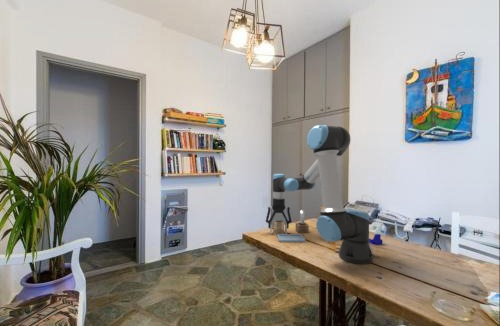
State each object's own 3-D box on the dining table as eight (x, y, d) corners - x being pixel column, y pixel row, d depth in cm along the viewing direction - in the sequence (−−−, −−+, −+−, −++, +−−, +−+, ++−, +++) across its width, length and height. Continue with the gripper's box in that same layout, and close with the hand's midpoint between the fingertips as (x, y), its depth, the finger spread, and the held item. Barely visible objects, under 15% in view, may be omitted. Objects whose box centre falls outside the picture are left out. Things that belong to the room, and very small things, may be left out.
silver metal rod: (304, 232, 156) (305, 210, 156) (300, 232, 156) (300, 210, 156) (303, 231, 159) (303, 209, 159) (299, 230, 159) (299, 209, 159)
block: (283, 235, 149) (284, 222, 149) (274, 235, 149) (274, 222, 149) (282, 232, 155) (282, 220, 155) (273, 232, 155) (273, 220, 155)
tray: (305, 242, 137) (305, 240, 137) (279, 242, 137) (279, 240, 137) (301, 236, 148) (301, 234, 148) (277, 236, 148) (277, 234, 148)
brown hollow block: (308, 233, 154) (308, 225, 154) (297, 233, 154) (297, 225, 154) (305, 230, 161) (306, 222, 161) (295, 230, 161) (295, 222, 161)
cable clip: (382, 245, 133) (382, 234, 133) (376, 246, 132) (376, 235, 132) (364, 238, 145) (364, 228, 144) (359, 239, 143) (359, 229, 143)
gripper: (294, 197, 156) (294, 231, 156) (261, 197, 156) (261, 231, 156) (296, 199, 148) (296, 235, 149) (262, 199, 148) (261, 235, 149)
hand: (278, 233), depth 152 cm, fingers open, 9 cm apart
